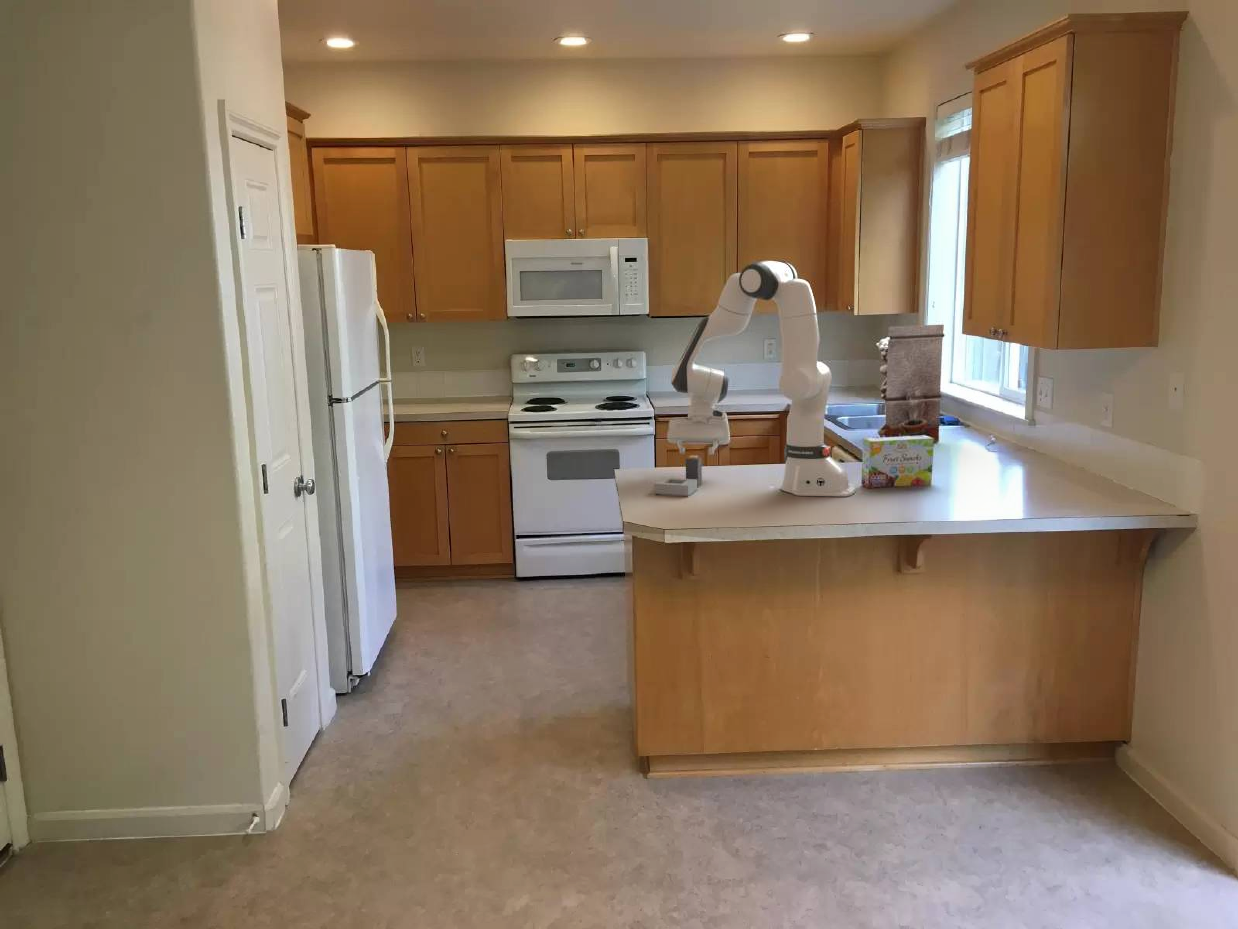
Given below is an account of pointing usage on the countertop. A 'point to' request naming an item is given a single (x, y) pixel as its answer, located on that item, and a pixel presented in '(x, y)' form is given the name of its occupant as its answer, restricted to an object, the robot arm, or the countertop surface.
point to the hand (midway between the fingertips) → (696, 453)
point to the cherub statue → (912, 376)
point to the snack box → (897, 461)
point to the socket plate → (675, 486)
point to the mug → (909, 428)
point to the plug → (694, 469)
